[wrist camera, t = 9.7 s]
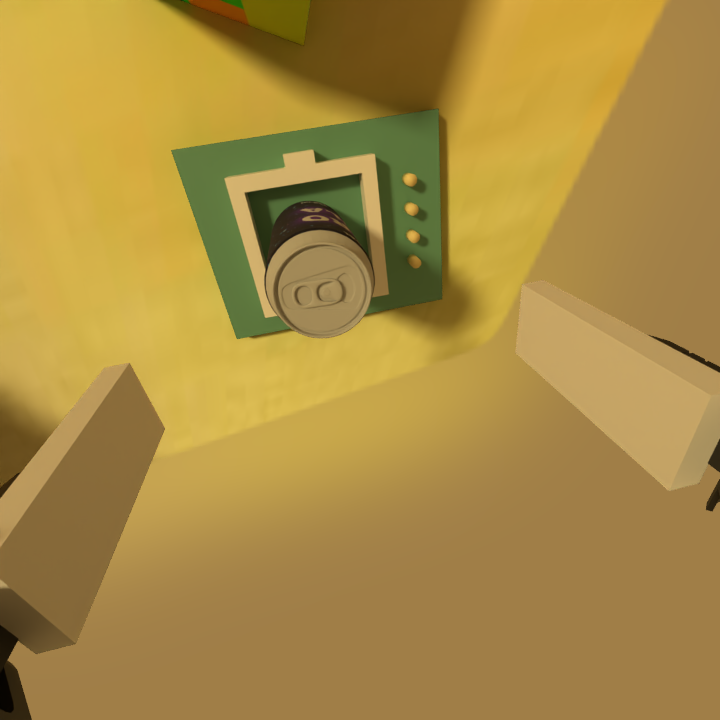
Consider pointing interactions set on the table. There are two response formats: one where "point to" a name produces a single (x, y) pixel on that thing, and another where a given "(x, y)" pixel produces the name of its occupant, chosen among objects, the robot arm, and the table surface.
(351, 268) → the beverage can
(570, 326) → the robot arm
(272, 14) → the puzzle toy
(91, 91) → the table surface
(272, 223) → the header board
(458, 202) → the table surface
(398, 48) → the table surface
